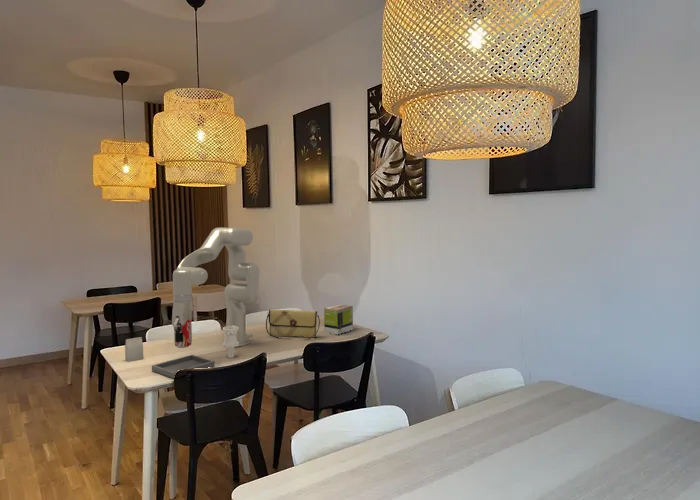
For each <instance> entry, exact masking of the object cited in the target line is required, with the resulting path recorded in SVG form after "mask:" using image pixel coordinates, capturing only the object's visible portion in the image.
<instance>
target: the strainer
mask: <svg viewBox="0 0 700 500" xmlns="http://www.w3.org/2000/svg"><path fill="white" fill-rule="evenodd" d="M231 328H233V329H231ZM222 331H223V332H224V333H223V335H224V337H223V338H224V341H223V343H222V347H225V348H227V358H231V359H232V358H234V357H235V348H236V346H238V345H239V342H237V331H238V327H237V326H234V325H233V326H227V325H226V326H223V327H222ZM229 333H230V334H229Z"/></svg>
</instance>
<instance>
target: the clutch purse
mask: <svg viewBox="0 0 700 500" xmlns="http://www.w3.org/2000/svg"><path fill="white" fill-rule="evenodd" d="M266 314H267V315H266V319H265V330H266V332H267V334H268V335H269V336H270V337H273V338H276V339H280V338H279V337H285V336H305V337H304V338H308V337H311V338H308V340H311V339H312V337H316V338H317V333H318V332H319V329H320V324H321V319H320V316H319V314H318V311H316V310H295V309H293V310H290V309H269V310H268V312H266ZM317 320H318V327H317ZM268 324H269V330H268Z"/></svg>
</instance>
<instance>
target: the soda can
mask: <svg viewBox="0 0 700 500" xmlns="http://www.w3.org/2000/svg"><path fill="white" fill-rule="evenodd" d="M178 325H181V324H178ZM192 325H193V324H192V321H190V318H189V319H188V320H186V323H185V325H184V326H183V330H182V332H183V342H175V330H174V329H173V330H174V331H173V333H174V334H173V335H174V337H173V339H174V346H175V347H176V348H179V349H184V348H189V347H190V346H191V345H192V344H193V343H192V340H193V339H192V338H193V334H192V332H193V331H192V330H193V329H192V327H193V326H192ZM179 328H180V327H179Z"/></svg>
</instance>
